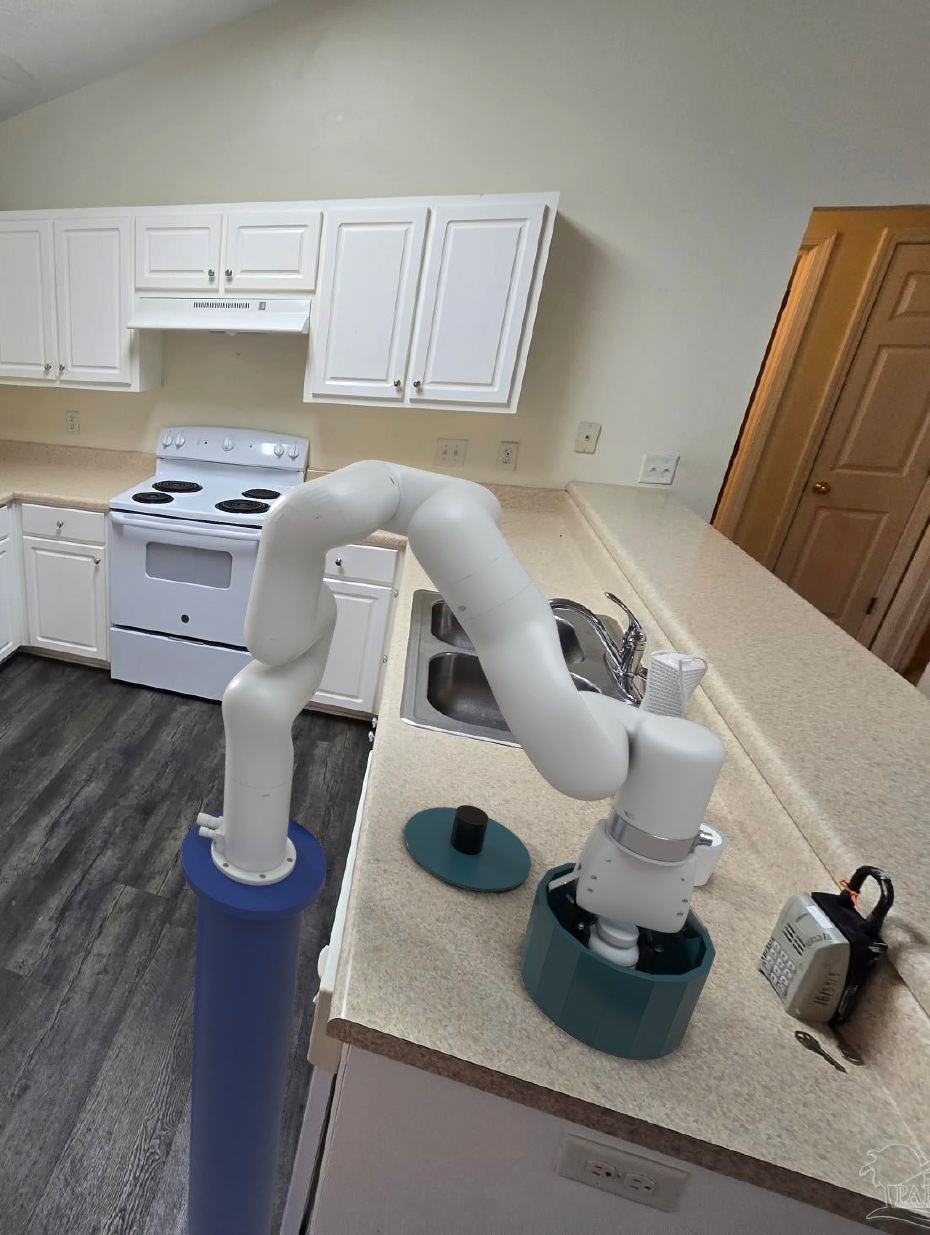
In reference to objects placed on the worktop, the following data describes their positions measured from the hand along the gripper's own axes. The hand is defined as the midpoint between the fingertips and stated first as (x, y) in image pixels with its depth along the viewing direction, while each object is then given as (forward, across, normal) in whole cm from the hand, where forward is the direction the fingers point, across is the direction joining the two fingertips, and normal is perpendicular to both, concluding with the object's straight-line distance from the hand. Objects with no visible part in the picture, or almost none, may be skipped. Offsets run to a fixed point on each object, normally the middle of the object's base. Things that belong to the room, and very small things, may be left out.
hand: (607, 956), depth 79 cm
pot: (+5, 0, 0) cm, 5 cm away
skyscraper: (+6, -11, -43) cm, 45 cm away
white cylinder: (+6, -14, -27) cm, 31 cm away
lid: (+5, +15, -19) cm, 25 cm away
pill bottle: (+5, 0, 0) cm, 5 cm away
